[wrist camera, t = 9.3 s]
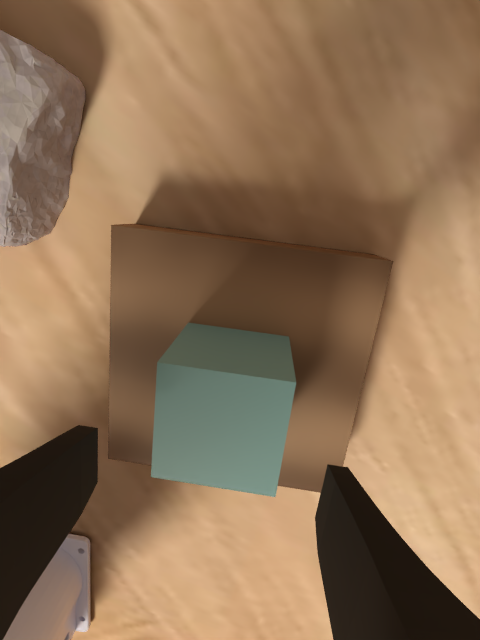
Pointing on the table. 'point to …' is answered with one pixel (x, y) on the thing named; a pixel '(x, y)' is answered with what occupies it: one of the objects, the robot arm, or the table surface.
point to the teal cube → (223, 408)
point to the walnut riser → (244, 314)
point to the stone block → (35, 139)
